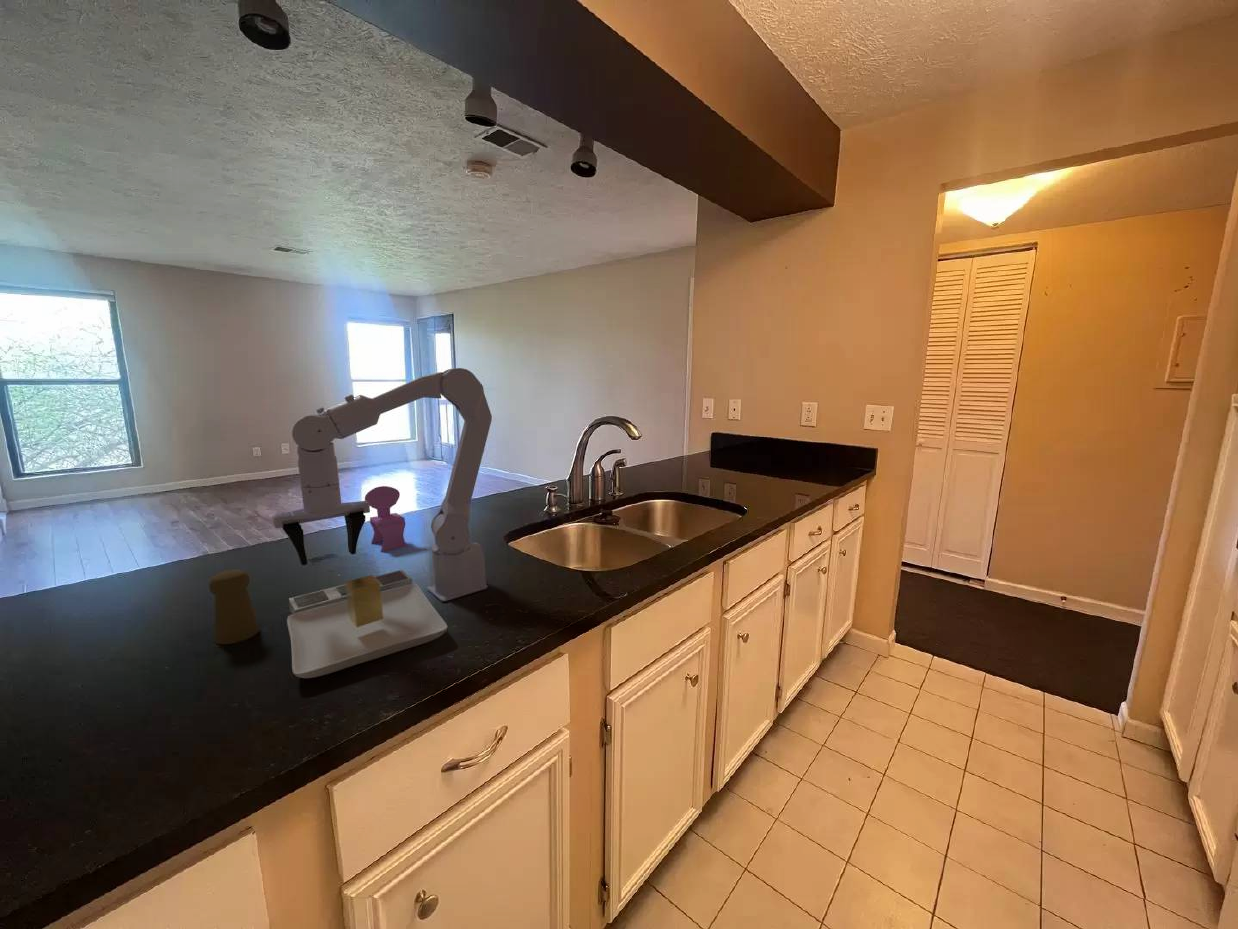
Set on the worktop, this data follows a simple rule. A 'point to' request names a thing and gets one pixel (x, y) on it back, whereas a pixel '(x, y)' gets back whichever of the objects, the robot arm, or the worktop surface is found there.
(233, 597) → the cork
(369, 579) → the yellow rectangular block
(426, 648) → the worktop surface
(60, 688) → the worktop surface
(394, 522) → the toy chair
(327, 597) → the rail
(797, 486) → the worktop surface
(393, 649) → the salad plate
